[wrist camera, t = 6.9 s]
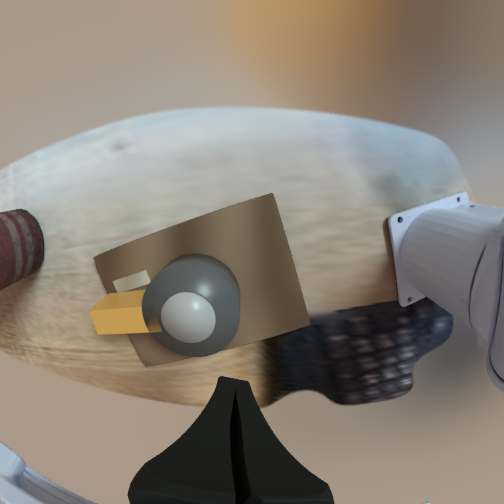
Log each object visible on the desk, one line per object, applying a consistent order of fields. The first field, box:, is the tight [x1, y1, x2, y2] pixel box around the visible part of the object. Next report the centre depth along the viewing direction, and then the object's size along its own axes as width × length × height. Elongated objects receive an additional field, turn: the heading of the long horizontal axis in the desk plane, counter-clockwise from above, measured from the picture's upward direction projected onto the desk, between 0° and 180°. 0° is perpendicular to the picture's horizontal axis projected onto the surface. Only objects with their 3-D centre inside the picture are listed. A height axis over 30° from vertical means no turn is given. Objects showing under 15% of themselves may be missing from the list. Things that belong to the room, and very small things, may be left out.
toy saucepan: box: [89, 253, 241, 357], centre depth 17 cm, size 10×6×4 cm, turn 98°
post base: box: [93, 193, 310, 366], centre depth 19 cm, size 14×10×1 cm
